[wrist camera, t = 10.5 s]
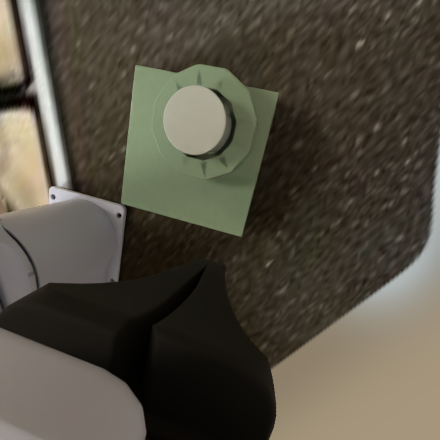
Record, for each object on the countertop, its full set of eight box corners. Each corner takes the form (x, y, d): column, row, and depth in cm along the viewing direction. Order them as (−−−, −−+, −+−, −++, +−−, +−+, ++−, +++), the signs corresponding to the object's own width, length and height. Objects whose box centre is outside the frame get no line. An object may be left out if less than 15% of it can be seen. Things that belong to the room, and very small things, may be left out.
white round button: (224, 160, 16) (218, 161, 14) (172, 148, 16) (158, 147, 14) (237, 100, 15) (232, 91, 13) (181, 89, 15) (168, 78, 13)
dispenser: (245, 226, 21) (237, 246, 17) (139, 197, 23) (104, 208, 18) (279, 98, 18) (281, 78, 14) (155, 74, 20) (118, 48, 15)
